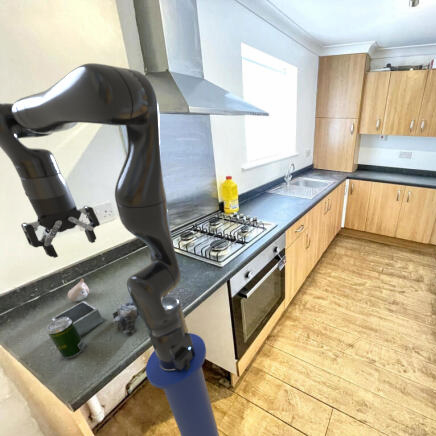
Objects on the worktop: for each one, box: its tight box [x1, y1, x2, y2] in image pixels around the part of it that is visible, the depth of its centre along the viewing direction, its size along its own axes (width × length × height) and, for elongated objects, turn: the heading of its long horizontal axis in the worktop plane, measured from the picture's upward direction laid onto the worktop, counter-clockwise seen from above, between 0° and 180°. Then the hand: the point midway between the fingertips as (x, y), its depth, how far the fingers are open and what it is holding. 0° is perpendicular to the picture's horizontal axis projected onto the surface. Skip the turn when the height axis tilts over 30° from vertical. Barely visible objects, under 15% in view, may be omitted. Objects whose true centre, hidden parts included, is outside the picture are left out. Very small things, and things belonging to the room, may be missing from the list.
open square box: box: [51, 300, 104, 338], centre depth 80 cm, size 9×9×6 cm
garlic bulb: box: [67, 277, 90, 303], centre depth 92 cm, size 7×6×8 cm
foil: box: [111, 295, 138, 335], centre depth 83 cm, size 12×11×15 cm
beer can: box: [46, 317, 85, 359], centre depth 71 cm, size 5×5×12 cm
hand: (74, 248), depth 64 cm, fingers open, 8 cm apart
